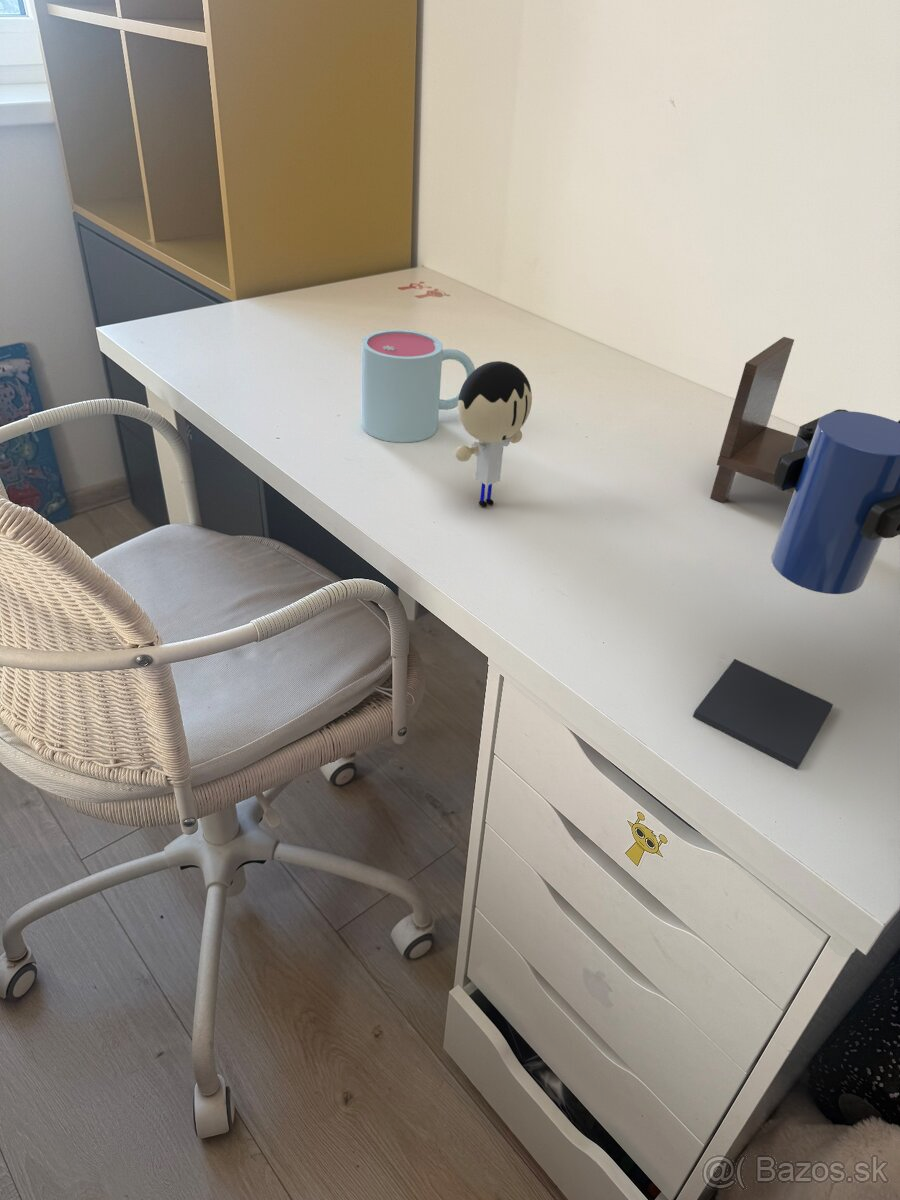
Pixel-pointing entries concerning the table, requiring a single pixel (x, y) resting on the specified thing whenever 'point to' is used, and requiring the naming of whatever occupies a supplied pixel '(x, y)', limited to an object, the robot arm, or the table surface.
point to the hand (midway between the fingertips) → (824, 498)
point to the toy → (492, 417)
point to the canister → (838, 502)
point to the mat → (764, 712)
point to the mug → (404, 384)
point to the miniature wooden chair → (754, 423)
